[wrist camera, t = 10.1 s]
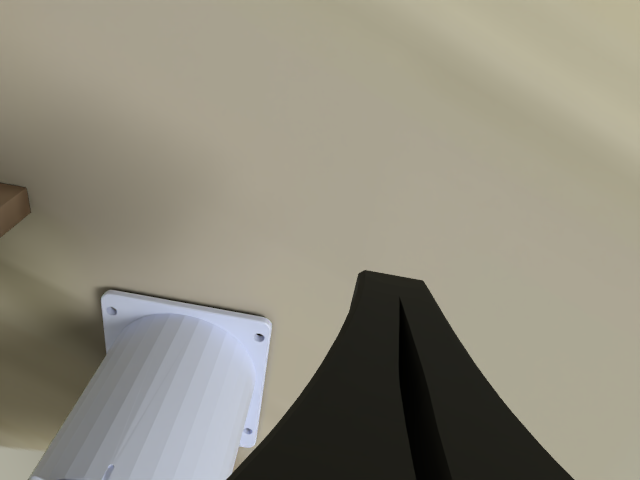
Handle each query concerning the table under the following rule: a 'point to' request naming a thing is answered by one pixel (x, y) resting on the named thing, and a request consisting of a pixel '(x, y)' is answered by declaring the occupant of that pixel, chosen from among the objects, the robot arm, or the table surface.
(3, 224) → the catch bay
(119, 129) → the table surface
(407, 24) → the table surface
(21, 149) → the table surface
